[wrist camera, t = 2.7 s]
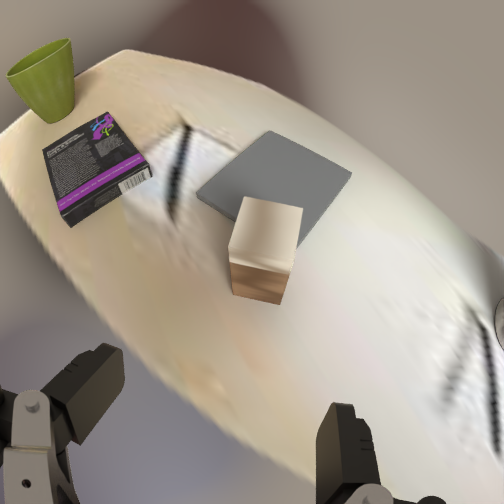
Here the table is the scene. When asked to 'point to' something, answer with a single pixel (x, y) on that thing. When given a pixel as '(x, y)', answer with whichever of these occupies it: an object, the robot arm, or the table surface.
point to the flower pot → (46, 80)
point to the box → (93, 168)
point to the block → (263, 249)
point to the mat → (277, 180)
